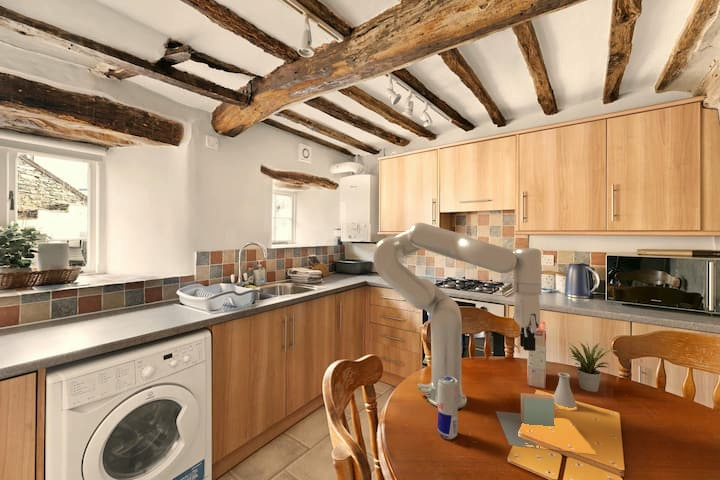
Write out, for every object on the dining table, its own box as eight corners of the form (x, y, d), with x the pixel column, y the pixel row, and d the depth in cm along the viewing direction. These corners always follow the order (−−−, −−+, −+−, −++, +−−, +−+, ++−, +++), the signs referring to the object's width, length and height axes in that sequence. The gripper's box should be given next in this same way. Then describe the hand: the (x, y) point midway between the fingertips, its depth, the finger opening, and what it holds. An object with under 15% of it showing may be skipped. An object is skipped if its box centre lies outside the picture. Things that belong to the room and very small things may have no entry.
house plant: (613, 384, 113) (613, 339, 113) (624, 402, 100) (623, 351, 100) (566, 376, 119) (566, 333, 119) (571, 392, 107) (570, 344, 107)
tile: (523, 425, 87) (523, 396, 87) (520, 420, 90) (520, 392, 90) (554, 428, 86) (554, 399, 86) (551, 423, 88) (551, 395, 88)
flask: (583, 413, 94) (582, 380, 94) (556, 411, 95) (556, 378, 95) (571, 401, 101) (571, 370, 101) (547, 399, 102) (547, 368, 102)
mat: (509, 446, 79) (509, 444, 79) (495, 412, 95) (495, 411, 95) (599, 457, 75) (599, 455, 75) (568, 419, 91) (568, 418, 91)
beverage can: (442, 426, 88) (442, 373, 88) (460, 433, 84) (460, 378, 84) (434, 435, 84) (434, 379, 84) (452, 443, 80) (452, 385, 80)
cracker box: (546, 390, 109) (546, 330, 109) (527, 386, 112) (526, 327, 112) (546, 375, 121) (545, 321, 121) (528, 371, 124) (528, 319, 124)
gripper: (507, 284, 104) (507, 339, 104) (522, 292, 89) (522, 357, 89) (531, 285, 103) (532, 340, 103) (551, 293, 87) (551, 359, 87)
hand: (527, 348), depth 96 cm, fingers open, 2 cm apart
